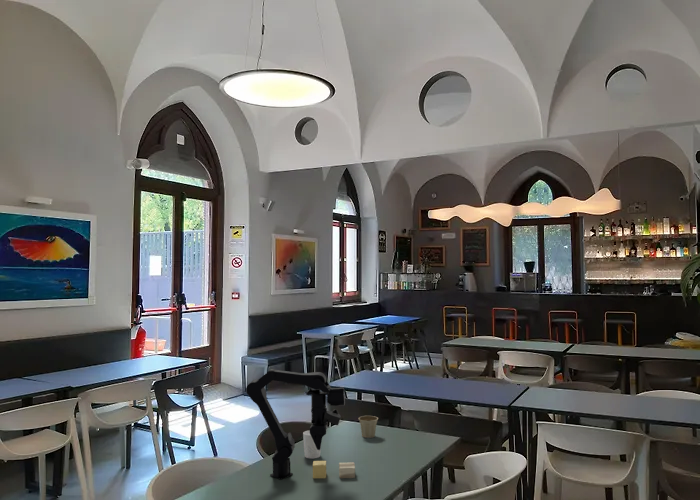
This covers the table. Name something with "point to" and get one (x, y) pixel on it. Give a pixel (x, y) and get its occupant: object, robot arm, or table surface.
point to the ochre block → (319, 469)
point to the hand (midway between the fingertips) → (319, 445)
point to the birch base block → (347, 470)
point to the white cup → (310, 446)
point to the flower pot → (368, 426)
